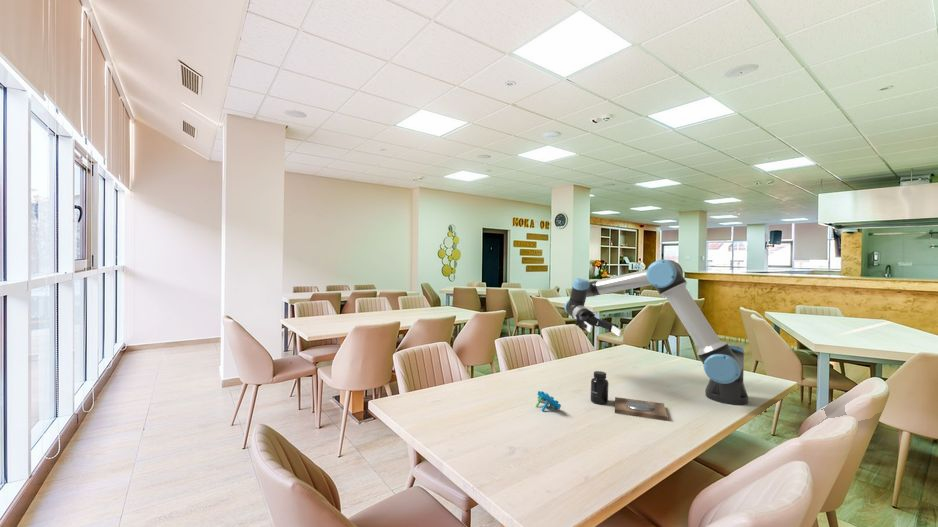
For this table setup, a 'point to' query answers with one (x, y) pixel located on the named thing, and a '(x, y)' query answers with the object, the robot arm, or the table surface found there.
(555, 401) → the gear
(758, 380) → the table surface
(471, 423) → the table surface
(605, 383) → the supplement bottle
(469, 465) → the table surface
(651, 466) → the table surface
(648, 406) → the walnut board
